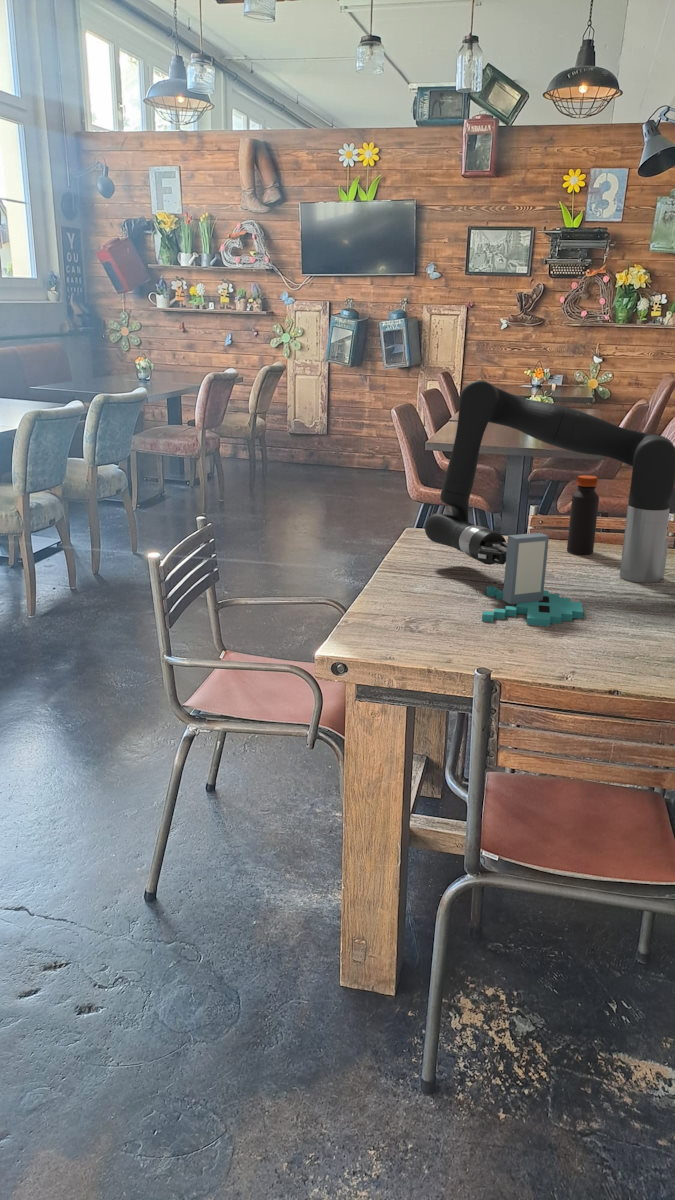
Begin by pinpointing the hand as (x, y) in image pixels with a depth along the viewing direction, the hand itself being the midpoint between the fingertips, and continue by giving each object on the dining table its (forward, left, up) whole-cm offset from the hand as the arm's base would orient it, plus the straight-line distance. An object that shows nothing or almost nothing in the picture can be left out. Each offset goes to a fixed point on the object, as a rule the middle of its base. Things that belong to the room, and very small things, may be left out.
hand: (525, 563), depth 180 cm
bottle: (-40, -32, -9) cm, 52 cm away
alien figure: (0, +4, -10) cm, 11 cm away
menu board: (+1, +2, -8) cm, 8 cm away
